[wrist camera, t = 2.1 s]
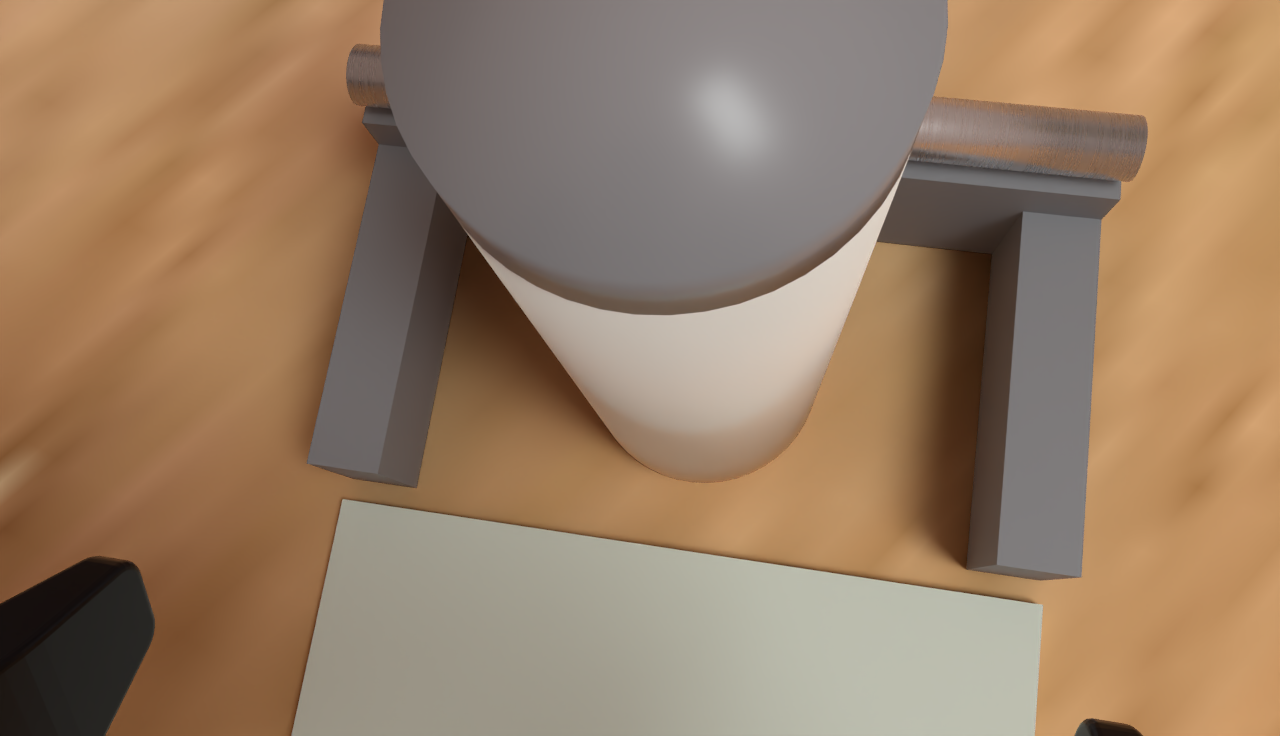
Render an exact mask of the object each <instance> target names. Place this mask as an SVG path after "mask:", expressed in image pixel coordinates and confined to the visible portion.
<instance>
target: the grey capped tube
mask: <svg viewBox="0 0 1280 736" xmlns="http://www.w3.org/2000/svg"><path fill="white" fill-rule="evenodd" d="M947 28H948V9H947V0H384V3H383V11H382V19H381V27H380V39H381V65H382V71H383V77H384V83H385V89H386V94H387V97H388V101H389V104H390V107H391V110H392V113H393V116H394V119H395V122H396V125H397V127H398V129H399V131H400V133H401V135H402V137H403V139H404V141H405V144H406V146H407V148H408V150H409V152H410V154H411V155H412V157H413V158H414V160H415V161H416V163H417V164H418V166H419V167H420V168H421V170H422V171H423V173H424V174H425V176H426V177H427V179H428V180H429V182H430V183H431V184H432V186H433V187H434V189H435V190H436V191H437V193H438V194H439V195H440V197H441V198H442V200H443V201H444V202H445V204H446V205H447V207H448V208H449V209H450V211H451V212H452V213H453V215H454V216H455V218H456V219H457V220H458V222H459V223H460V225H461V226H462V227H463V229H464V230H465V231H466V233H467V234H468V236H469V237H470V238H471V240H472V241H473V243H474V244H475V245H476V247H477V248H478V249H479V251H480V252H481V254H482V255H483V256H484V258H485V259H486V261H487V262H488V263H489V265H490V266H491V267H492V269H493V270H494V272H495V273H496V274H497V276H498V277H499V279H500V280H501V281H502V283H503V284H504V285H505V287H506V288H507V290H508V291H509V292H510V294H511V295H512V297H513V298H514V299H515V301H516V302H517V303H518V305H519V306H520V308H521V309H522V310H523V312H524V313H525V315H526V316H527V317H528V319H529V320H530V321H531V323H532V324H533V326H534V327H535V328H536V330H537V331H538V333H539V334H540V335H541V337H542V338H543V339H544V341H545V342H546V344H547V345H548V346H549V348H550V349H551V351H552V352H553V353H554V355H555V356H556V357H557V359H558V360H559V362H560V363H561V364H562V366H563V367H564V369H565V370H566V371H567V373H568V374H569V375H570V377H571V378H572V380H573V381H574V382H575V384H576V385H577V387H578V388H579V389H580V391H581V392H582V393H583V395H584V396H585V398H586V399H587V400H588V402H589V403H590V405H591V406H592V407H593V409H594V410H595V411H596V413H597V414H598V416H599V417H600V418H601V420H602V421H603V423H604V424H605V425H606V427H607V428H608V429H609V431H610V432H611V434H612V435H613V436H614V438H615V439H616V441H617V442H618V443H619V444H620V445H621V446H622V447H623V448H624V449H625V451H626V452H628V453H629V454H630V455H631V456H632V457H633V458H635V459H636V460H637V461H638V462H640V463H642V464H643V465H645V466H646V467H648V468H649V469H651V470H654V471H656V472H658V473H660V474H662V475H665V476H668V477H671V478H674V479H677V480H683V481H689V482H701V483H710V482H722V481H727V480H731V479H735V478H739V477H742V476H744V475H747V474H750V473H752V472H754V471H756V470H758V469H760V468H762V467H764V466H765V465H767V464H768V463H769V462H771V461H772V460H774V459H775V458H777V457H778V456H779V455H780V454H781V453H782V452H783V451H784V450H785V449H786V448H787V447H788V446H789V445H790V444H791V443H792V441H793V440H794V439H795V438H796V437H797V435H798V434H799V432H800V430H801V429H802V427H803V425H804V424H805V422H806V420H807V417H808V415H809V413H810V411H811V408H812V406H813V403H814V400H815V398H816V395H817V393H818V390H819V388H820V385H821V382H822V380H823V377H824V375H825V372H826V370H827V367H828V364H829V362H830V359H831V357H832V354H833V352H834V349H835V346H836V344H837V341H838V339H839V336H840V334H841V331H842V328H843V326H844V323H845V321H846V318H847V316H848V313H849V310H850V308H851V305H852V303H853V300H854V298H855V295H856V292H857V290H858V287H859V285H860V282H861V280H862V277H863V274H864V272H865V269H866V267H867V264H868V262H869V259H870V256H871V254H872V251H873V249H874V246H875V244H876V241H877V238H878V236H879V233H880V231H881V228H882V226H883V223H884V220H885V218H886V215H887V213H888V210H889V208H890V205H891V202H892V200H893V197H894V195H895V192H896V190H897V187H898V184H899V182H900V179H901V177H902V174H903V172H904V169H905V166H906V164H907V161H908V159H909V156H910V154H911V151H912V148H913V146H914V143H915V141H916V138H917V136H918V133H919V130H920V128H921V125H922V123H923V120H924V118H925V115H926V112H927V110H928V107H929V105H930V102H931V100H932V97H933V95H934V91H935V88H936V84H937V81H938V77H939V74H940V70H941V67H942V63H943V59H944V51H945V44H946V36H947Z"/></svg>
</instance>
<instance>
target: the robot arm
mask: <svg viewBox="0 0 1280 736" xmlns="http://www.w3.org/2000/svg"><path fill="white" fill-rule="evenodd" d="M154 628H155V619H154V615H153V611H152V608H151V605H150V602H149V599H148V596H147V592H146V589H145V586H144V583H143V580H142V576H141V573H140V571H139V569H138V567H137V566H136V565H135V564H134V563H133V562H130V561H127V560H121V559H115V558H109V557H102V556H95V557H90V558H87V559H85V560H83V561H80V562H79V563H77V564H75V565H73V566H71V567H69V568H67V569H65V570H63V571H61V572H60V573H58V574H56V575H54V576H52V577H50V578H48V579H46V580H44V581H43V582H41V583H39V584H37V585H35V586H33V587H31V588H29V589H27V590H25V591H24V592H22V593H20V594H18V595H16V596H14V597H12V598H10V599H8V600H6V601H5V602H3V603H1V604H0V736H105V735H106V733H107V731H108V729H109V727H110V725H111V723H112V721H113V719H114V717H115V715H116V713H117V711H118V709H119V707H120V705H121V703H122V701H123V699H124V697H125V695H126V693H127V690H128V688H129V686H130V684H131V682H132V680H133V678H134V676H135V674H136V672H137V670H138V668H139V666H140V664H141V662H142V660H143V658H144V656H145V654H146V652H147V650H148V648H149V646H150V644H151V641H152V638H153V635H154ZM1075 736H1143V735H1142V734H1141V733H1140V732H1139V731H1138V730H1136V729H1135V728H1134V727H1132V726H1130V725H1127V724H1123V723H1117V722H1111V721H1105V720H1099V719H1086V720H1084V721H1083V722H1082V723H1081V724H1080V726H1079V727H1078V729H1077V731H1076V734H1075Z"/></svg>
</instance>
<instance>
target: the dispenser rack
mask: <svg viewBox="0 0 1280 736" xmlns="http://www.w3.org/2000/svg"><path fill="white" fill-rule="evenodd" d="M346 79H347V88H348V92H349V95H350V98H351V100H352V101H353V103H354V104H356V105H359V106H366V108H365V112H364V117H363V121H362V123H363V124H364V126H365V127H366V128H367V130H368V131H369V132H370V133H371V135H372V136H373V137H374V139H375V140H376V141H377V143H378V144H379V146H378V150H377V155H376V159H375V164H374V168H373V172H372V177H371V181H370V186H369V190H368V195H367V199H366V203H365V208H364V212H363V217H362V221H361V226H360V230H359V234H358V239H357V243H356V248H355V252H354V257H353V261H352V265H351V270H350V274H349V279H348V283H347V287H346V292H345V296H344V301H343V305H342V310H341V314H340V318H339V323H338V327H337V332H336V336H335V341H334V345H333V349H332V354H331V358H330V363H329V367H328V372H327V376H326V380H325V385H324V389H323V394H322V398H321V402H320V407H319V411H318V416H317V420H316V425H315V429H314V433H313V438H312V442H311V447H310V451H309V456H308V460H307V464H310V465H313V466H316V467H319V468H322V469H325V470H328V471H331V472H334V473H338V474H341V475H344V476H347V477H350V478H353V479H359V480H366V481H373V482H380V483H386V484H393V485H400V486H407V487H413V488H417V483H418V478H419V473H420V468H421V463H422V458H423V453H424V448H425V443H426V438H427V433H428V428H429V423H430V418H431V413H432V408H433V403H434V398H435V393H436V388H437V383H438V378H439V373H440V368H441V363H442V359H443V354H444V349H445V344H446V339H447V334H448V329H449V324H450V319H451V314H452V309H453V304H454V299H455V294H456V289H457V284H458V279H459V274H460V269H461V264H462V259H463V254H464V249H465V244H466V239H467V233H466V231H465V230H464V229H463V227H462V226H461V225H460V223H459V222H458V220H457V219H456V218H455V216H454V215H453V213H452V212H451V211H450V209H449V208H448V207H447V205H446V204H445V202H444V201H443V200H442V198H441V197H440V195H439V194H438V193H437V191H436V190H435V189H434V187H433V186H432V184H431V183H430V182H429V180H428V179H427V177H426V176H425V174H424V173H423V171H422V170H421V168H420V167H419V166H418V164H417V163H416V161H415V160H414V158H413V157H412V155H411V154H410V152H409V150H408V148H407V146H406V144H405V141H404V139H403V137H402V135H401V133H400V131H399V129H398V127H397V125H396V122H395V119H394V116H393V113H392V110H391V107H390V104H389V101H388V97H387V94H386V89H385V83H384V77H383V71H382V65H381V46H377V45H366V44H357V45H355V46H354V47H353V48H352V50H351V52H350V55H349V58H348V62H347V71H346ZM1147 134H1148V128H1147V121H1146V118H1145V117H1144V116H1142V115H1132V114H1121V113H1110V112H1099V111H1088V110H1077V109H1066V108H1055V107H1044V106H1033V105H1022V104H1011V103H1000V102H990V101H979V100H968V99H957V98H946V97H935V96H933V97H932V100H931V102H930V105H929V107H928V110H927V112H926V115H925V118H924V120H923V123H922V125H921V128H920V130H919V133H918V136H917V138H916V141H915V143H914V146H913V148H912V151H911V154H910V156H909V159H908V161H907V164H906V166H905V169H904V172H903V174H902V177H901V179H900V182H899V184H898V187H897V190H896V192H895V195H894V197H893V200H892V202H891V205H890V208H889V210H888V213H887V215H886V218H885V220H884V223H883V226H882V228H881V231H880V233H879V236H878V238H877V241H878V242H887V243H896V244H905V245H914V246H923V247H932V248H941V249H950V250H960V251H969V252H978V253H987V254H992V258H991V270H990V283H989V295H988V307H987V320H986V332H985V344H984V357H983V369H982V382H981V394H980V406H979V419H978V431H977V444H976V456H975V468H974V481H973V493H972V506H971V518H970V530H969V543H968V555H967V568H966V569H967V570H973V571H980V572H987V573H994V574H1000V575H1007V576H1014V577H1021V578H1027V579H1034V580H1053V579H1066V578H1079V577H1081V573H1082V555H1083V537H1084V519H1085V502H1086V484H1087V466H1088V448H1089V430H1090V413H1091V395H1092V377H1093V359H1094V341H1095V323H1096V306H1097V288H1098V270H1099V252H1100V234H1101V219H1102V218H1103V217H1104V216H1105V215H1106V214H1107V213H1108V212H1109V211H1110V210H1111V209H1112V208H1113V207H1114V206H1115V205H1116V204H1117V203H1118V202H1119V201H1120V195H1121V181H1123V182H1130V181H1131V180H1133V178H1134V177H1135V176H1136V174H1137V172H1138V170H1139V168H1140V166H1141V163H1142V160H1143V157H1144V153H1145V149H1146V144H1147Z"/></svg>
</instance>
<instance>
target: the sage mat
mask: <svg viewBox="0 0 1280 736" xmlns="http://www.w3.org/2000/svg"><path fill="white" fill-rule="evenodd" d="M1042 613H1043V605H1041V604H1034V603H1027V602H1021V601H1014V600H1008V599H1001V598H994V597H988V596H981V595H974V594H968V593H961V592H955V591H948V590H941V589H935V588H928V587H922V586H915V585H908V584H902V583H895V582H888V581H882V580H875V579H869V578H862V577H855V576H849V575H842V574H835V573H829V572H822V571H816V570H809V569H802V568H796V567H789V566H783V565H776V564H769V563H763V562H756V561H749V560H743V559H736V558H730V557H723V556H716V555H710V554H703V553H696V552H690V551H683V550H677V549H670V548H663V547H657V546H650V545H644V544H637V543H630V542H624V541H617V540H610V539H604V538H597V537H591V536H584V535H577V534H571V533H564V532H557V531H551V530H544V529H538V528H531V527H524V526H518V525H511V524H505V523H498V522H491V521H485V520H478V519H471V518H465V517H458V516H452V515H445V514H438V513H432V512H425V511H418V510H412V509H405V508H399V507H392V506H385V505H379V504H372V503H366V502H359V501H352V500H346V499H343V500H342V504H341V509H340V514H339V518H338V523H337V527H336V532H335V537H334V541H333V546H332V551H331V555H330V560H329V564H328V569H327V574H326V578H325V583H324V588H323V592H322V597H321V601H320V606H319V611H318V615H317V620H316V624H315V629H314V634H313V638H312V643H311V648H310V652H309V657H308V661H307V666H306V671H305V675H304V680H303V684H302V689H301V694H300V698H299V703H298V708H297V712H296V717H295V721H294V726H293V731H292V735H291V736H1035V722H1036V706H1037V691H1038V675H1039V660H1040V644H1041V628H1042Z"/></svg>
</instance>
